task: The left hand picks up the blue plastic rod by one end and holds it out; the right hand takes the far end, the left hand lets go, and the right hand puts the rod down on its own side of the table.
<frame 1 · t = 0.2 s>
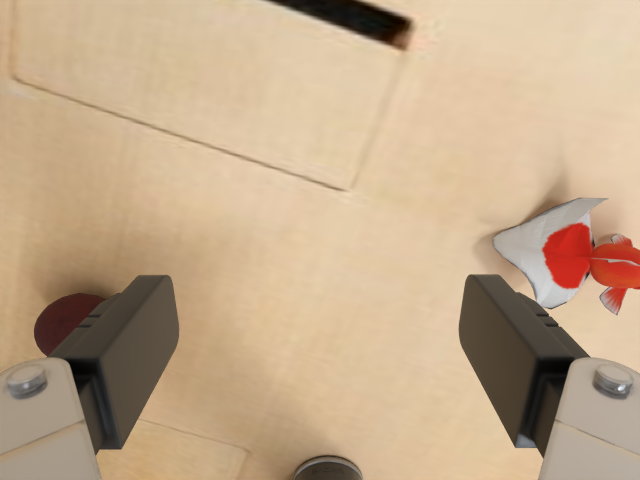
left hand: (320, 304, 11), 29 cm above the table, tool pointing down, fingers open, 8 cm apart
plum: (99, 309, 45), on the table
fish: (557, 244, 42), on the table
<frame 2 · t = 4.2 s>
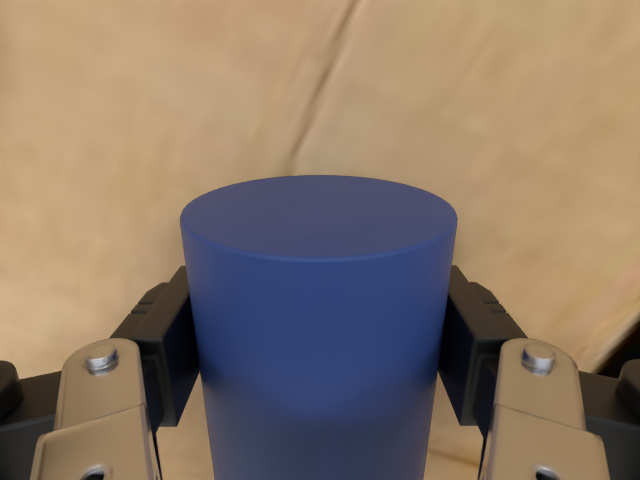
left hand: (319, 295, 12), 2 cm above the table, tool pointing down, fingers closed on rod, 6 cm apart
rod: (319, 464, 16), on the table, touching left hand
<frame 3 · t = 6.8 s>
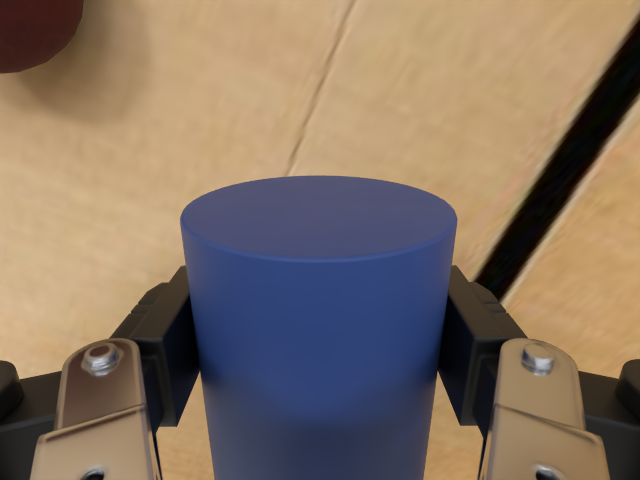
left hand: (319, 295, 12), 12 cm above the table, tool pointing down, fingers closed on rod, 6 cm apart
rod: (319, 464, 17), point 10 cm above the table, touching left hand
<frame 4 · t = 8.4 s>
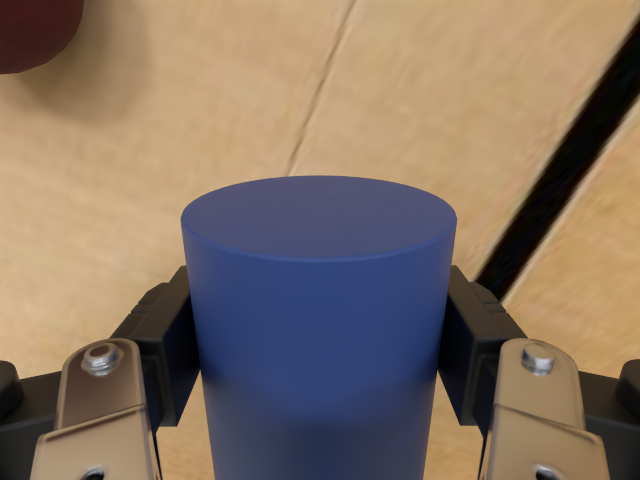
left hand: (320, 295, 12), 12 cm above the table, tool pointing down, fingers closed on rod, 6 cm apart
rod: (319, 464, 17), point 10 cm above the table, touching left hand, right hand
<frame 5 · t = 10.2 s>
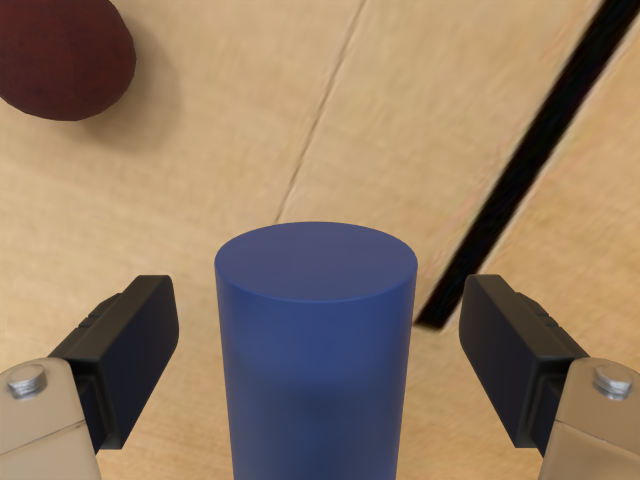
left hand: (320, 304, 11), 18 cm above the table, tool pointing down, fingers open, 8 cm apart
plum: (92, 50, 25), on the table
rod: (315, 457, 19), point 13 cm above the table, touching right hand
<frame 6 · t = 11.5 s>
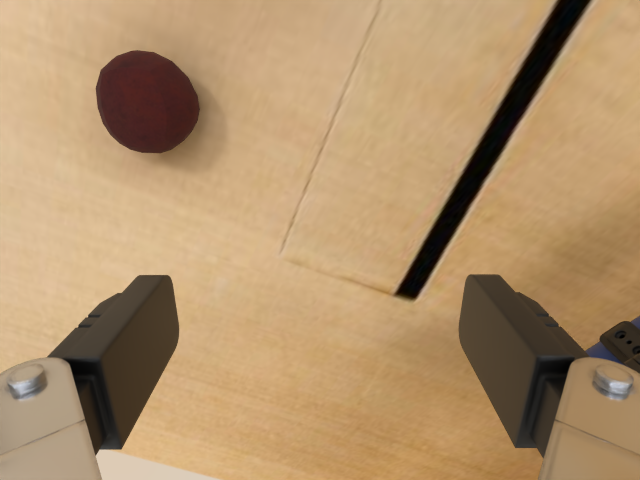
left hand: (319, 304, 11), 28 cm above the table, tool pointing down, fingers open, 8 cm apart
plum: (166, 101, 36), on the table
when the right hand's fingers open (3 cm above the table, at t = 15.0 s): rod drops 2 cm, on the table.
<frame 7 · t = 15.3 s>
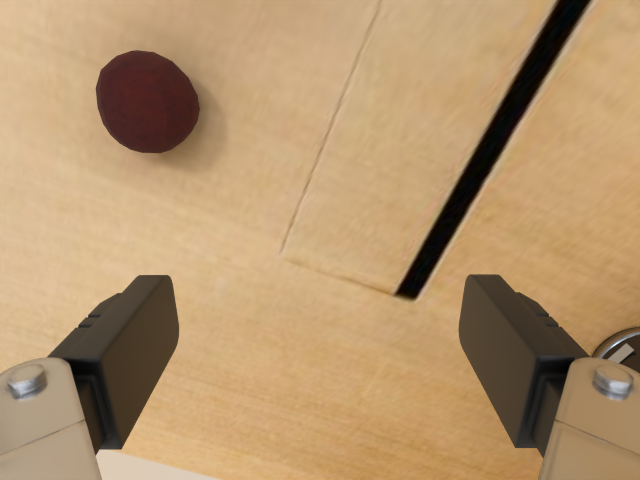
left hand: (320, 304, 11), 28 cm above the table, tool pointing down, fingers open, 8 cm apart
plum: (166, 101, 36), on the table
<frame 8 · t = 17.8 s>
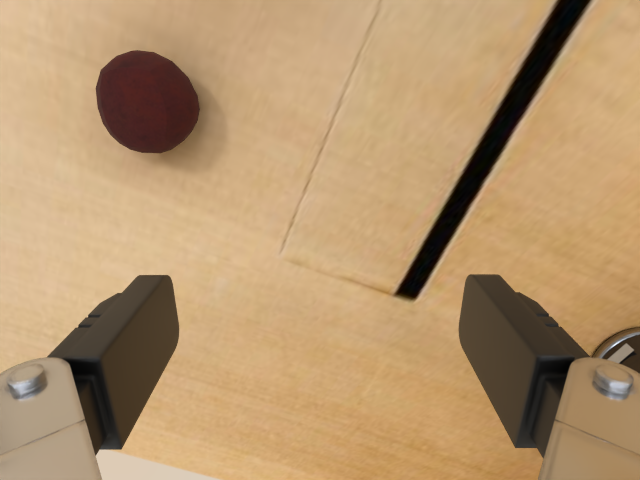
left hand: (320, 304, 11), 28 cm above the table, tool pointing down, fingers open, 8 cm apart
plum: (166, 101, 36), on the table
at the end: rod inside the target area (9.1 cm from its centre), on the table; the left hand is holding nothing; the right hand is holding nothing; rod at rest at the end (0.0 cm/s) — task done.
